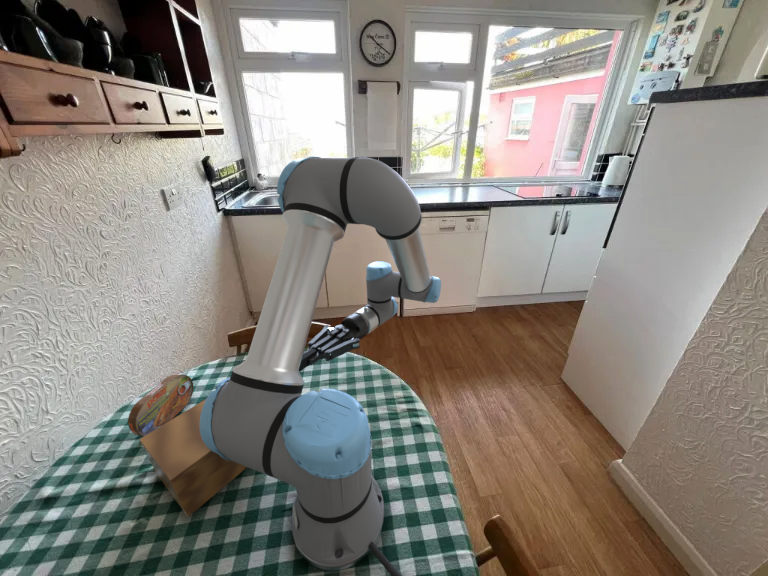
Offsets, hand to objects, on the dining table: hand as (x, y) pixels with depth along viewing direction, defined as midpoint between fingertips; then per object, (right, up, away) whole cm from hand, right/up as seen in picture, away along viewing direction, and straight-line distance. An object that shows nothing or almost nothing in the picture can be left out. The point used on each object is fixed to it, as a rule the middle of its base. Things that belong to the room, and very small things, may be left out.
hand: (294, 367), depth 74 cm
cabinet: (-13, -16, -12) cm, 24 cm away
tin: (-29, -11, -1) cm, 31 cm away
